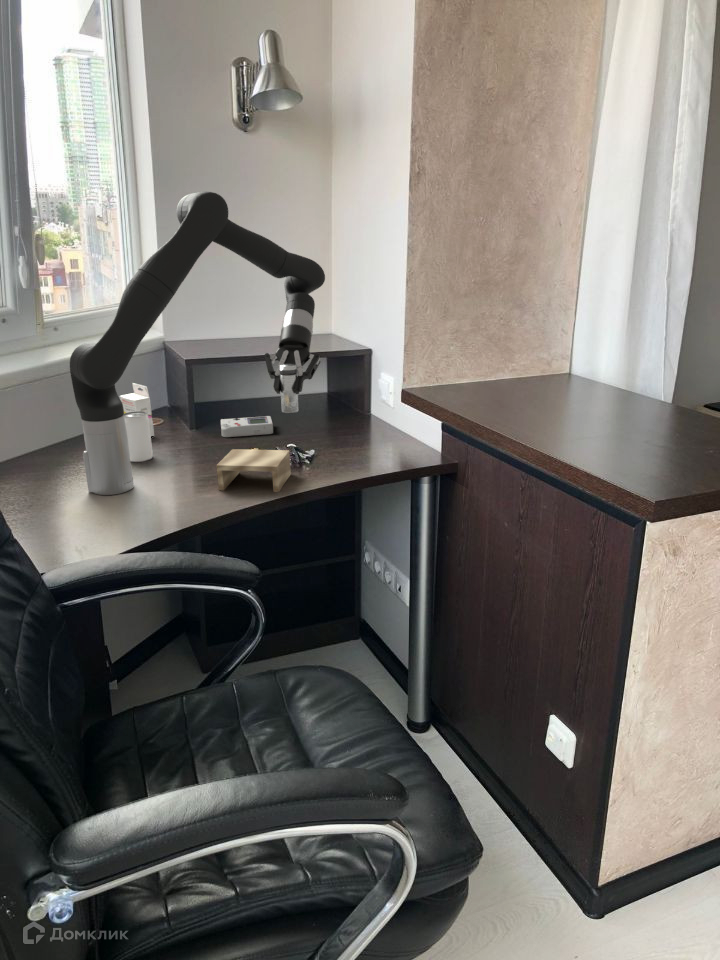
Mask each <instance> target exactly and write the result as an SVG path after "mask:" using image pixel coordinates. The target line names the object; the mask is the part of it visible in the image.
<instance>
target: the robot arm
mask: <svg viewBox="0 0 720 960" xmlns="http://www.w3.org/2000/svg"><path fill="white" fill-rule="evenodd" d="M176 217H177V220H178V222H179V224H180V225H179V227H178V229H177V230H176V231H175V233H174V234H173V235H172V237H171V238H169V240H167V241H166V242H165V243H164V244H163V245H161V246H160V247H159V248H158V249H156V251H155V252H153V253H152V254H151V255H150V256H149V257H148V258H147V259H145V261H144V262H143V263H142V264H141V265H140V266H139V268H138V269H137V270H136V271H135V273H134V275H133V276H132V277H131V279H130V280H129V282H128V283H127V285H126V287H125V289H124V291H123V293H122V295H121V297H120V301H119V304H118V308H117V311H116V314H115V317H114V319H113V321H112V322H111V325H110V326H109V327H108V329H107V330H106V331H105V332H104V334H103V335H102V337H100V339H99V340H98V341H97V342H96V343H94V342H88V343H87V342H86V343H83V344H80V345H79V346H77V347H76V348H74V350H73V351H72V353H71V355H70V358H69V372H70V379H71V384H72V388H73V395H74V399H75V403H76V406H77V408H78V410H79V412H80V420H81V427H82V432H83V438H84V445H85V450H84V451H82V457H83V459H82V460H83V465H84V471H85V477H86V484H87V485H86V486H87V491H88V493H93V494H95V495H100V496H110V495H111V496H112V495H119V494H123V493H126V492H128V491H131V490H132V489H133V488H134V487H135V485H134V476H133V469H132V462H131V460H130V453H129V445H128V438H127V431H126V423H125V416H124V409H123V404H122V402H121V400H120V396H119V395H118V393H117V389H116V383H118V382H119V380H120V379H121V377H122V376H123V374H124V372H125V371H126V369H127V367H128V365H129V363H130V361H131V359H132V358H133V356H134V354H135V353H136V350H137V349H138V347H139V345H140V344H141V342H142V341H143V339H144V338H145V336H146V335H147V334H148V333H149V331H150V329H152V327H153V326H154V324H155V323H156V322H157V320H158V319H159V317H160V315H161V314H162V313H163V312H164V310H165V309H166V308H167V306H168V305H169V303H170V302H171V300H172V299H173V297H174V296H175V295H176V293H177V291H178V290H179V288H180V287H181V285H182V284H183V282H184V281H185V279H186V277H188V275H189V274H190V272H191V270H192V269H193V267H194V266H195V264H196V262H197V261H198V260H199V258H200V257H201V256H202V254H203V253H204V252H205V250H206V249H207V248H208V247H209V246H210V245H211V244H212V242H213V243H215V244H217V245H219V246H221V247H223V248H225V249H227V250H229V251H231V252H232V253H235V254H236V255H238V256H239V257H241V258H243V260H246V261H248V262H250V264H253V265H254V266H256V267H257V268H258V269H260V270H262V271H264V272H265V273H267V274H268V275H270V276H272V277H274V278H276V279H284V278H285V280H284V283H283V284H284V292H285V298H286V299H285V300H286V307H285V313H284V318H283V320H282V324H281V328H280V329H281V330H280V336H279V341H278V348H277V350H276V351H275V353H271V354H269V352H266V353H265V354H264V359H265V364H266V368H267V372H268V376H269V378H270V379H271V380H273V389H274V391H275V392H276V395H281V385H280V365H281V364H296V365H297V377H296V382H295V393H296V394H298V395H300V393H302V391H303V386H304V382H305V380H309V381H310V380H311V379H313V377H314V375H315V373H316V371H317V369H318V368H319V366H320V364H321V358H320V354H318V353H316V354H312V353H311V352H310V351H311V350H310V349H311V344H312V336H313V333H314V332H313V328H314V315H315V306H316V305H315V300H314V298H313V296H311V295H310V294H311V293H313V292H314V291H316V290H317V289H319V288H321V287H322V286H323V285H324V283H325V280H326V275H325V271H324V269H323V267H322V266H321V265H320V264H319V263H317V262H316V261H314V260H313V259H311V258H309V257H305V256H303V255H299V254H296V253H292V252H289V251H287V250H286V249H284V248H283V247H282V246H280V245H279V244H277V243H276V242H273V241H272V240H271V239H269V238H267V237H265V236H263V235H261V234H258V233H256V232H254V231H251V230H249V229H247V228H245V227H242V226H240V225H239V224H237V223H235V222H233V221H232V220H230V219H229V207H228V203H227V201H226V200H225V199H224V197H223V196H222V195H220V194H219V193H217V192H212V191H199V192H196V191H195V192H191V193H189V194H186V195H185V196H182V197H181V199H180V200H179V202H178V204H177V206H176ZM276 359H277V361H278V364H277V369H276V370H274V364H275V363H276ZM308 361H309V363H308V364H309V365H308V366H307V368H306V369H305V371H304V367H303V366H304V365H306V363H307V362H308Z"/></svg>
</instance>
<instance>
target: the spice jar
mask: <svg viewBox="0 0 720 960" xmlns="http://www.w3.org/2000/svg"><path fill="white" fill-rule="evenodd" d="M296 377H298V373H297V365H296V364H281V365H280V385H281V392H280V400H281V403H280V404H281V406H280V407H281V412H282V413H285V414H292V413H293V414H295V413H298V412H299V394H296V393H295V382H296Z"/></svg>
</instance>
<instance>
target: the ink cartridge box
mask: <svg viewBox="0 0 720 960" xmlns="http://www.w3.org/2000/svg"><path fill="white" fill-rule="evenodd" d="M131 384H132V389H133V393H128V394H122V395H119V399H120V400H121V402H122V404H123V409H124V414H125V413H128V412H133V411H143V412H146V416H147V417H148V420H149V427H150V435H151V436H154V437H155V430H154V429H155V428H154V423H153V413H152V407H151V398H150V394H149V389H148V386H146V385H143V384H138V383H134V382H132V383H131ZM140 389H141V390H140Z"/></svg>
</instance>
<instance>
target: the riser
mask: <svg viewBox="0 0 720 960" xmlns="http://www.w3.org/2000/svg"><path fill="white" fill-rule="evenodd" d="M290 454H291V453H290V450H289V449H288V450H287V449H285V450H284V449H244V448H243V449H241V448H240V449H239V448H238V449H236V448H235V449H234V448H232V449H230V451H229V452H228V453H227V454H226V455H225V456H224V457H223V458H222V459H221V460H220V461H219V462H218V463H217V464H216V474H217V475H216V477H217V486H218V491H225V490H226V489H227V488H228V487H229V485H230V484H231V483H232V481H234V479H235V478H236V477H237V476H238V475H239V474H240V472H271V474H272V490H273V492H274V493H280V491H281V490H282V488H283V486H284V485H285V484H286V482H287V480H288V479H289V478H290V476H291V474H292V471H291V455H290Z"/></svg>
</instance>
